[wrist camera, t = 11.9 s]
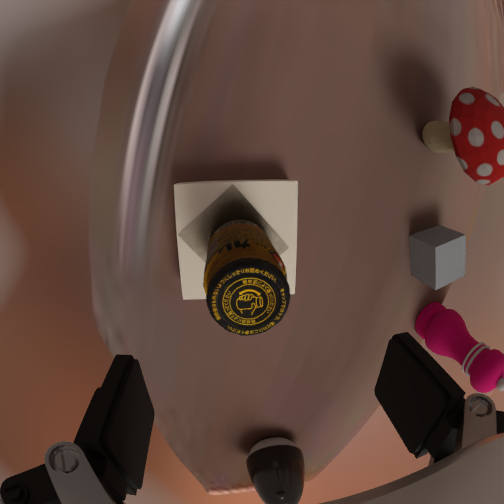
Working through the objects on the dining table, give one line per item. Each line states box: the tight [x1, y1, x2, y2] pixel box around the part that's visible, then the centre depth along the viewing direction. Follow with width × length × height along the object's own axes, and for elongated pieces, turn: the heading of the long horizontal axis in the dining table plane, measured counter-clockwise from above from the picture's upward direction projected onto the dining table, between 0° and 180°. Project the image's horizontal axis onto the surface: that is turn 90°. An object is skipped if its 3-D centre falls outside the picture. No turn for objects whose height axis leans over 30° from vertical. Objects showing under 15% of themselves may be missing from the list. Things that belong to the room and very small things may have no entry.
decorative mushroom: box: [422, 87, 504, 185], centre depth 24 cm, size 11×11×15 cm
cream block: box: [174, 179, 298, 300], centre depth 30 cm, size 12×12×4 cm
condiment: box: [178, 185, 290, 336], centre depth 23 cm, size 7×8×12 cm
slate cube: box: [409, 225, 466, 290], centre depth 33 cm, size 6×6×6 cm
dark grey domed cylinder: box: [246, 437, 305, 504], centre depth 37 cm, size 10×10×15 cm
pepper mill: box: [415, 302, 504, 393], centre depth 30 cm, size 7×7×20 cm
